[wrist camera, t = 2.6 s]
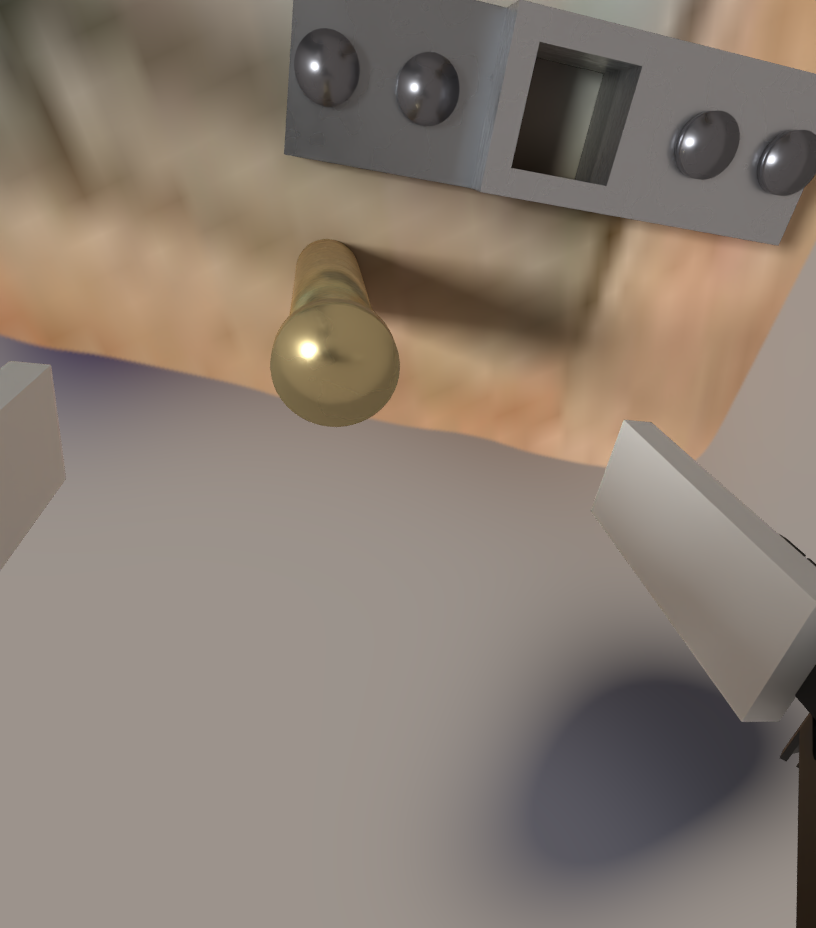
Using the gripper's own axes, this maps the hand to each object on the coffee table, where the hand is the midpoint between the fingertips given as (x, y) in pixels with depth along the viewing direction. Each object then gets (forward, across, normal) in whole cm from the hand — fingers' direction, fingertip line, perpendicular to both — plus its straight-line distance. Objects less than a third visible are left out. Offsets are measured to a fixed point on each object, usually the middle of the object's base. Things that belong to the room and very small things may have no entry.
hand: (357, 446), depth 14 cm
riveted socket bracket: (+21, +10, +9) cm, 25 cm away
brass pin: (+21, 0, 0) cm, 21 cm away
